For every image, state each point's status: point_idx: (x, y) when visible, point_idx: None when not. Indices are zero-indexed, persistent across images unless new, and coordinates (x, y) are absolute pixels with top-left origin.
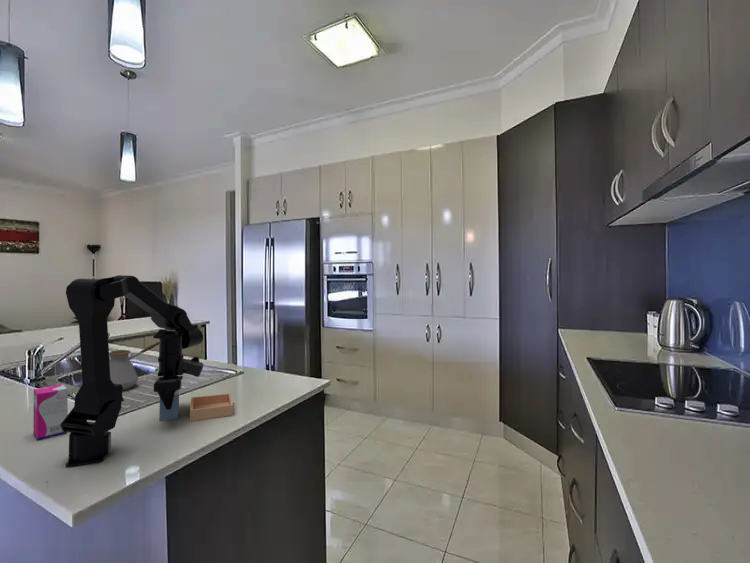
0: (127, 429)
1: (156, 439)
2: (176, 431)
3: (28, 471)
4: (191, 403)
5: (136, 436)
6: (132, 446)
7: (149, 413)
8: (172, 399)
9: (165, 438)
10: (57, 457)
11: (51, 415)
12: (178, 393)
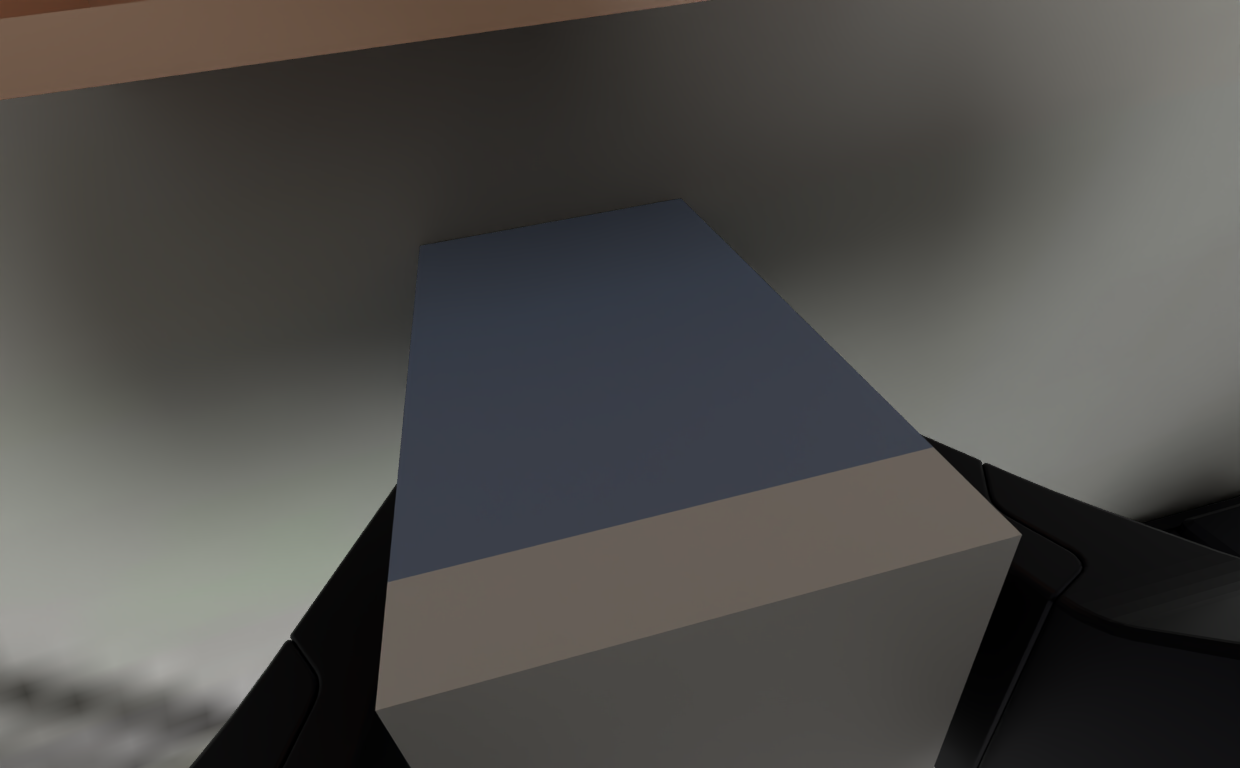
0: None
1: (1185, 272)
2: (1129, 104)
3: None
4: (531, 2)
5: (997, 458)
6: (1177, 412)
7: None
8: (957, 462)
9: (1229, 188)
10: None
11: None
12: (869, 464)
